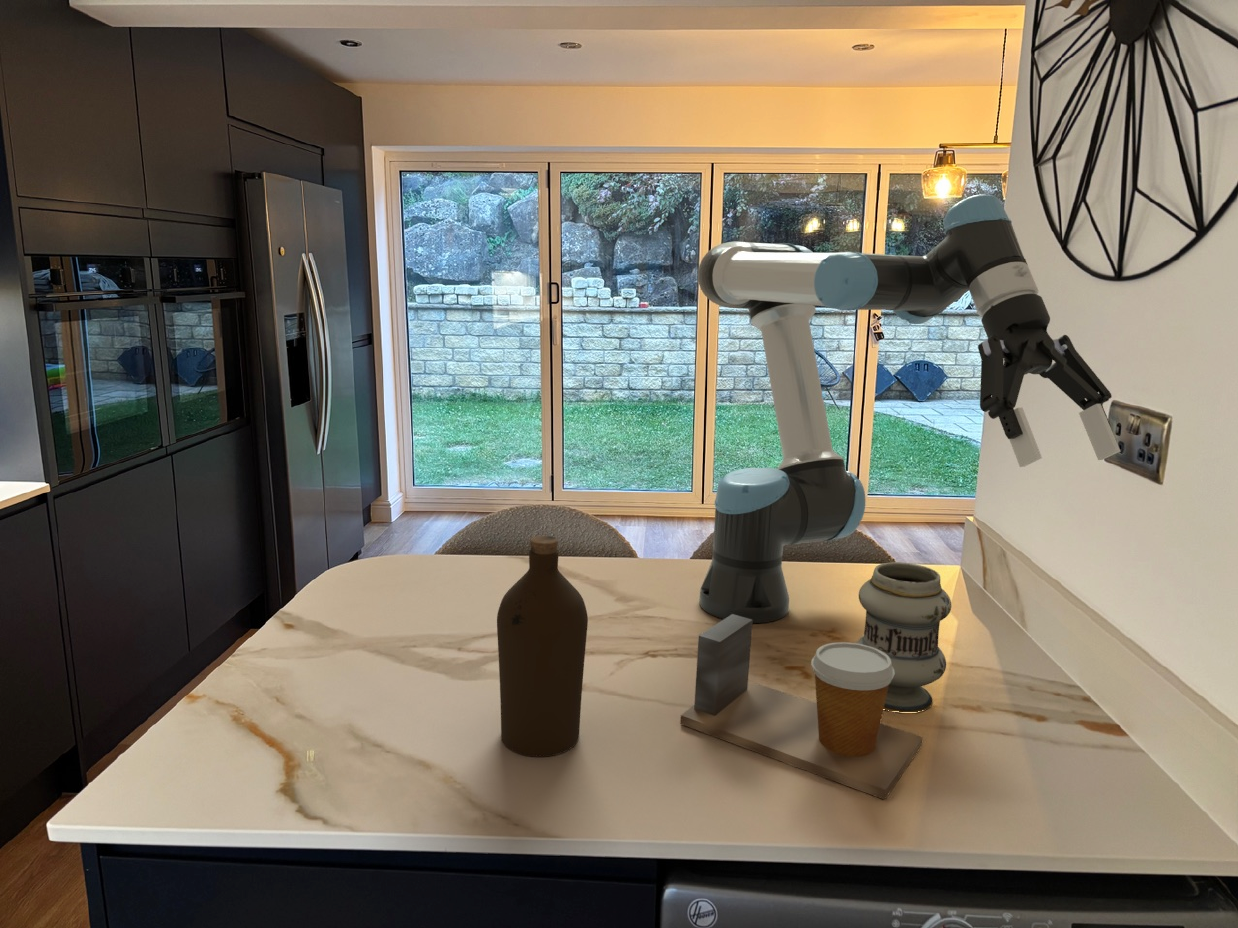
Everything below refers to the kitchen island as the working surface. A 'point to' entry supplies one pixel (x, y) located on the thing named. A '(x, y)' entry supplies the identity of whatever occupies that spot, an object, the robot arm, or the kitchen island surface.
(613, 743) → the kitchen island surface
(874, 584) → the apothecary jar
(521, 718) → the olive oil
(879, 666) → the disposable coffee cup
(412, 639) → the kitchen island surface
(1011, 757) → the kitchen island surface
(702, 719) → the walnut board
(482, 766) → the kitchen island surface
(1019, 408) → the robot arm
